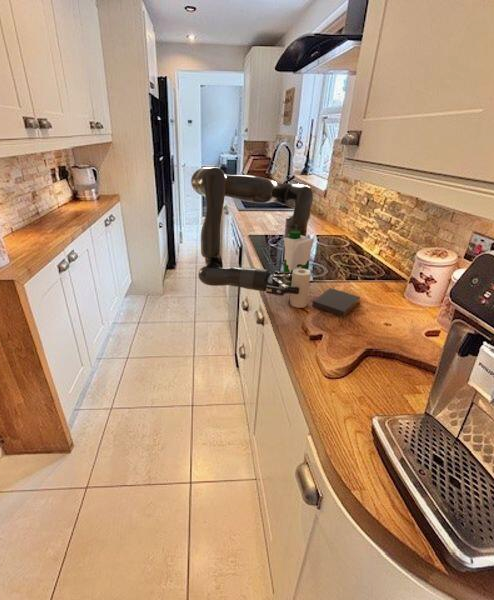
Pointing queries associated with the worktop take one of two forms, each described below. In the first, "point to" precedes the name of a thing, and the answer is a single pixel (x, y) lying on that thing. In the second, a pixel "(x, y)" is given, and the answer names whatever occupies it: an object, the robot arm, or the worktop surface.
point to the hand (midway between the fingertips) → (301, 285)
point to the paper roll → (300, 287)
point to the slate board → (336, 302)
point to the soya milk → (296, 252)
